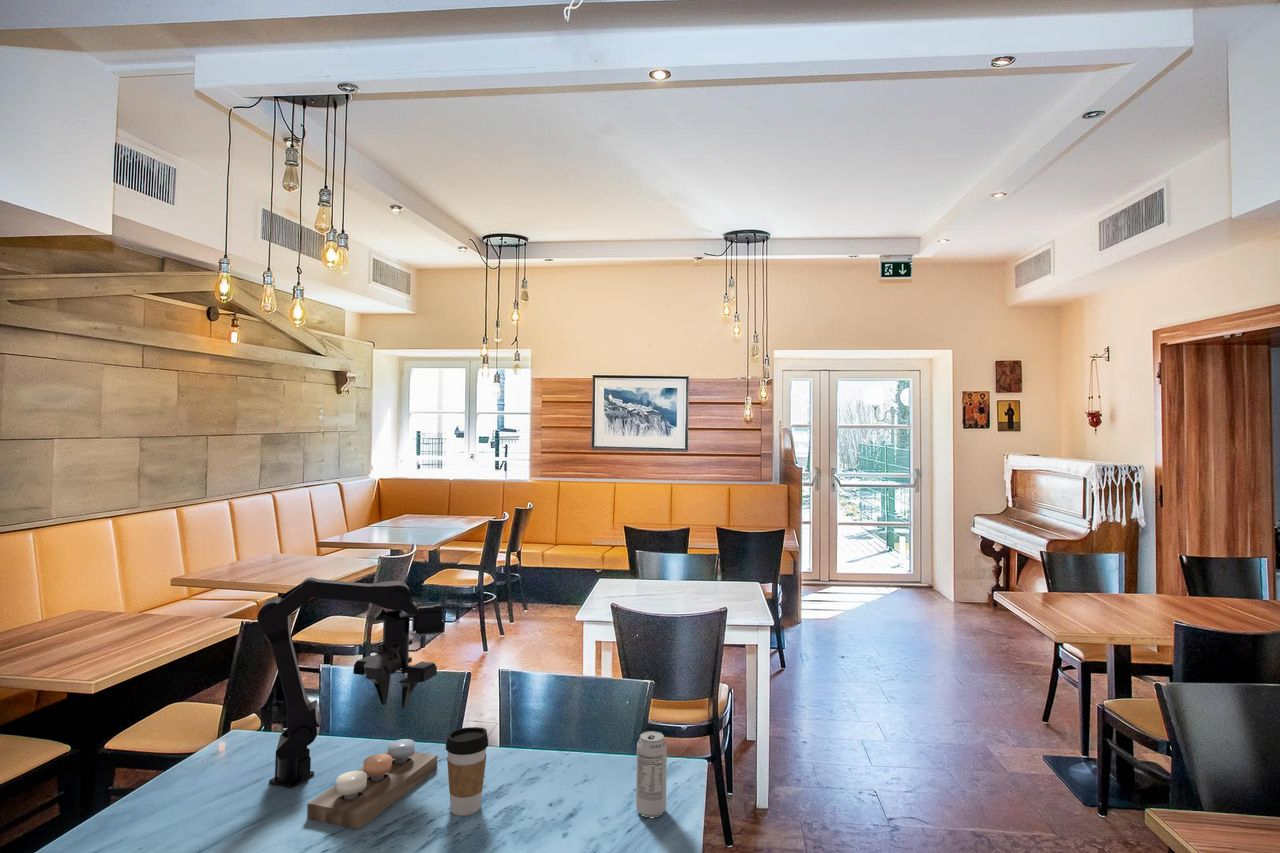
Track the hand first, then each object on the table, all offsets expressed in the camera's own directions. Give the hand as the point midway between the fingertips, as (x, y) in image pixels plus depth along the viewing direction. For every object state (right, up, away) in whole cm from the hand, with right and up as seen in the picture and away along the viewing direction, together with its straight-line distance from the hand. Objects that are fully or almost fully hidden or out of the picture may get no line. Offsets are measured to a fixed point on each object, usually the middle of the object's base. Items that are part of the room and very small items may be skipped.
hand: (394, 706), depth 156 cm
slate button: (+4, -11, -6) cm, 13 cm away
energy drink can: (+59, -13, -20) cm, 63 cm away
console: (+1, -13, -13) cm, 18 cm away
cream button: (-1, -11, -21) cm, 23 cm away
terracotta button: (+1, -11, -13) cm, 17 cm away
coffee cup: (+21, -13, -19) cm, 31 cm away
